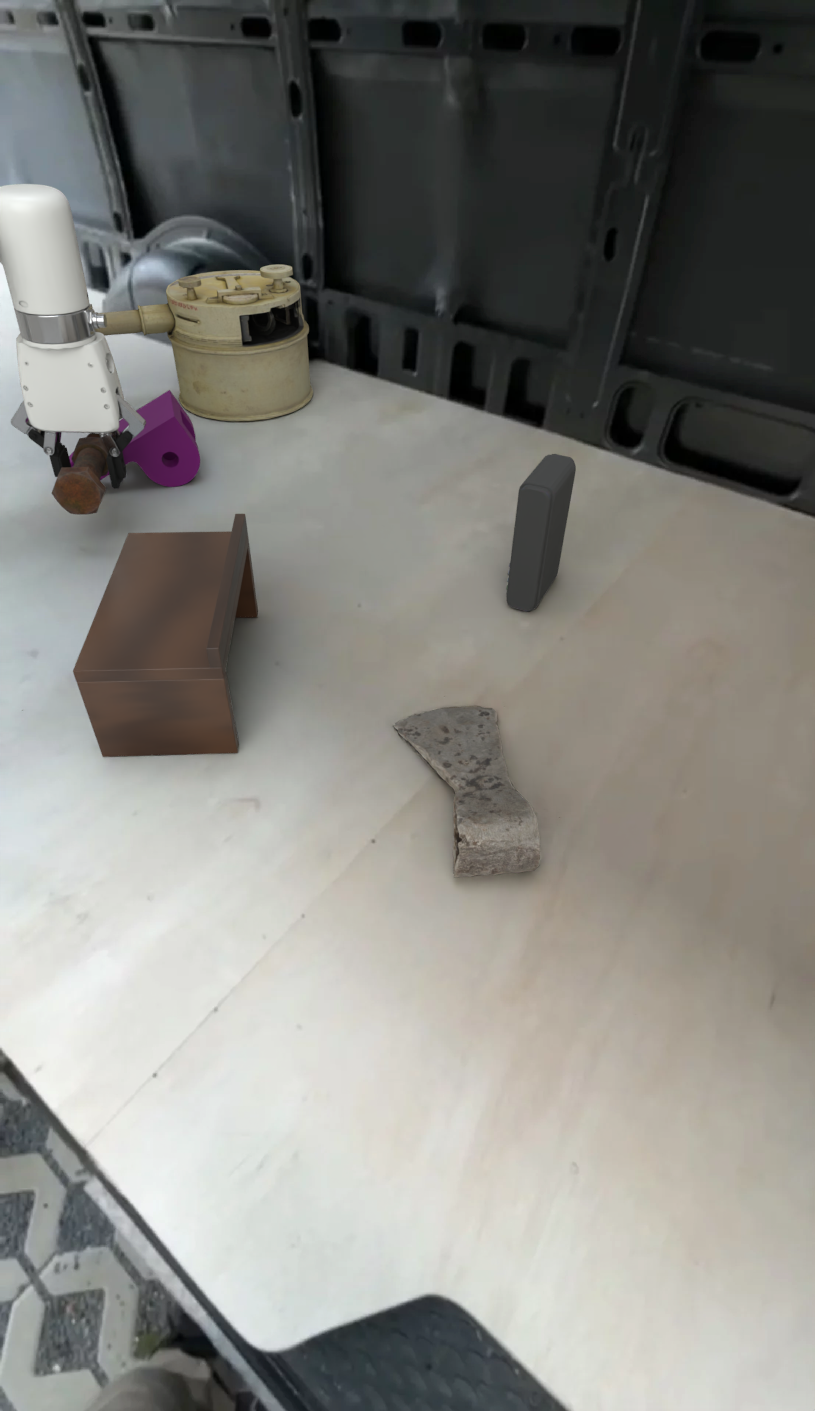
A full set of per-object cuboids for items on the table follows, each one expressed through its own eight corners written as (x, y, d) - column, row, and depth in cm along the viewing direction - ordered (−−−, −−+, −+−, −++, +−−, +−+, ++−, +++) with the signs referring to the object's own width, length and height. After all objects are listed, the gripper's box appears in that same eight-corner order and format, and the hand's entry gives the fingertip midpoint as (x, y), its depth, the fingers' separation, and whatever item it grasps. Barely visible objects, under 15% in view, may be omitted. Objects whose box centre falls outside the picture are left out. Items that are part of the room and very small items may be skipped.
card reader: (527, 567, 95) (544, 448, 85) (559, 576, 94) (580, 455, 84) (500, 606, 89) (514, 482, 79) (534, 616, 88) (553, 491, 78)
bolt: (111, 471, 103) (91, 524, 92) (71, 452, 101) (46, 505, 90) (126, 432, 100) (108, 482, 89) (86, 413, 98) (62, 461, 87)
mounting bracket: (102, 533, 110) (211, 468, 109) (59, 486, 105) (174, 416, 103) (102, 502, 117) (205, 439, 115) (62, 455, 111) (169, 389, 109)
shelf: (102, 757, 71) (65, 651, 63) (148, 613, 87) (123, 514, 79) (237, 753, 71) (218, 648, 63) (258, 611, 88) (245, 513, 80)
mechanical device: (99, 386, 135) (67, 255, 122) (296, 366, 144) (287, 241, 131) (106, 439, 120) (71, 295, 106) (327, 413, 129) (320, 277, 115)
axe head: (389, 695, 74) (493, 685, 76) (390, 739, 77) (490, 729, 78) (430, 846, 57) (563, 829, 58) (430, 896, 60) (557, 879, 61)
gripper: (145, 316, 88) (169, 470, 100) (-15, 310, 86) (29, 467, 98) (131, 338, 82) (159, 498, 94) (-40, 332, 81) (10, 495, 93)
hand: (92, 481), depth 96 cm, fingers closed on bolt, 5 cm apart
